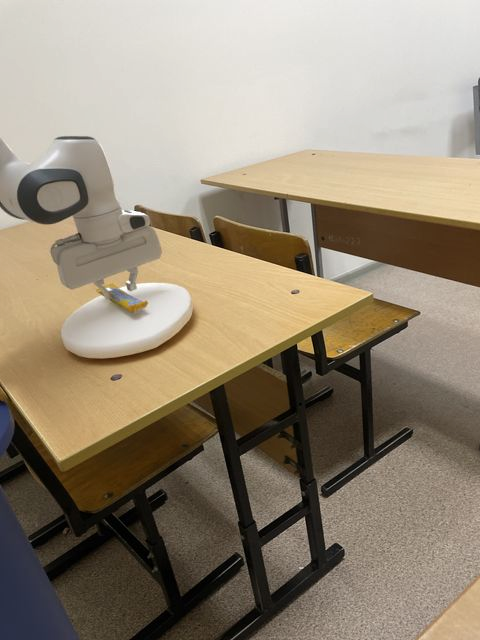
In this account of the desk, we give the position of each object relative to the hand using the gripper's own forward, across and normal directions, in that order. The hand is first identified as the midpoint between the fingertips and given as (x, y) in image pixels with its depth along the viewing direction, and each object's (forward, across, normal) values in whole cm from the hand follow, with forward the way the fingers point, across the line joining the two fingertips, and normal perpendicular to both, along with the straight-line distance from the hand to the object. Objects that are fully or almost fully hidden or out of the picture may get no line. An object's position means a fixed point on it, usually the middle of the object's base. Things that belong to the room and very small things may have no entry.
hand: (121, 293), depth 106 cm
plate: (+8, 0, 0) cm, 9 cm away
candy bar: (+2, 0, 0) cm, 2 cm away
